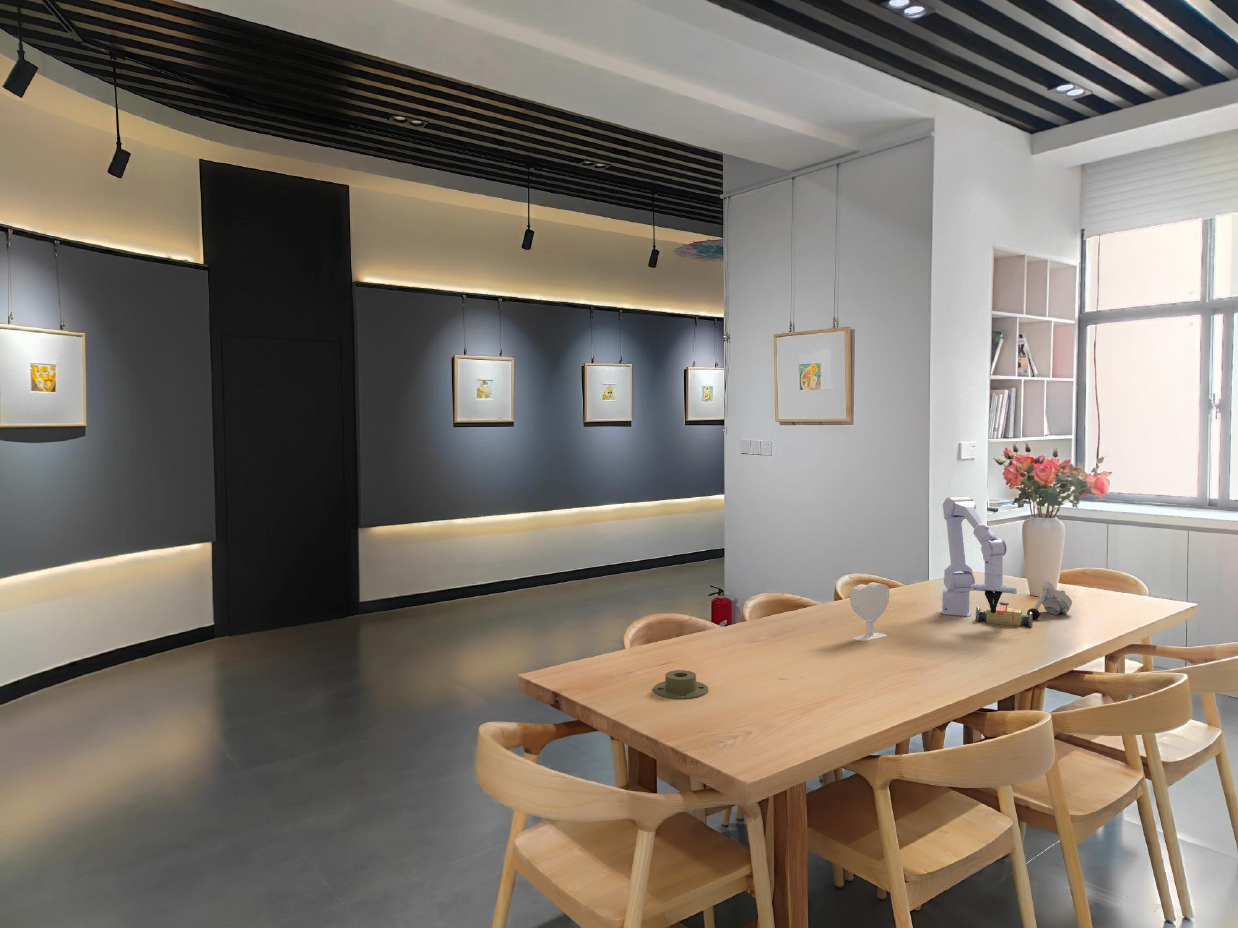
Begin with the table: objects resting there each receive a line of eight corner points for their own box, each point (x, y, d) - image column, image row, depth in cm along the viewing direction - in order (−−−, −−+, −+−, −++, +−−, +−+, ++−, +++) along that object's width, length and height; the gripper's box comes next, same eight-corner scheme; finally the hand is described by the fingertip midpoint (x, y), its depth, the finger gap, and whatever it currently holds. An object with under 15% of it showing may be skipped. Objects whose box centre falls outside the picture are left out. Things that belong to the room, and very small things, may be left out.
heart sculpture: (879, 631, 281) (879, 580, 280) (891, 634, 276) (891, 582, 276) (848, 638, 273) (848, 585, 272) (859, 641, 268) (859, 588, 267)
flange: (703, 665, 230) (651, 667, 230) (711, 682, 215) (655, 684, 215) (704, 682, 231) (651, 683, 230) (712, 699, 216) (655, 701, 215)
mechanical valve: (1077, 606, 301) (1061, 579, 296) (1059, 643, 294) (1042, 616, 289) (1050, 603, 310) (1034, 577, 305) (1032, 639, 303) (1015, 612, 298)
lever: (999, 607, 292) (999, 601, 292) (1009, 607, 290) (1009, 602, 290) (996, 614, 280) (996, 608, 280) (1005, 615, 279) (1005, 609, 279)
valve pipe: (975, 625, 292) (975, 608, 292) (977, 621, 297) (977, 604, 297) (1031, 630, 283) (1031, 613, 283) (1032, 627, 288) (1032, 609, 288)
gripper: (969, 574, 283) (969, 612, 284) (1015, 577, 276) (1015, 616, 276) (972, 570, 289) (972, 608, 290) (1017, 574, 282) (1017, 612, 282)
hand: (993, 612), depth 283 cm, fingers closed
